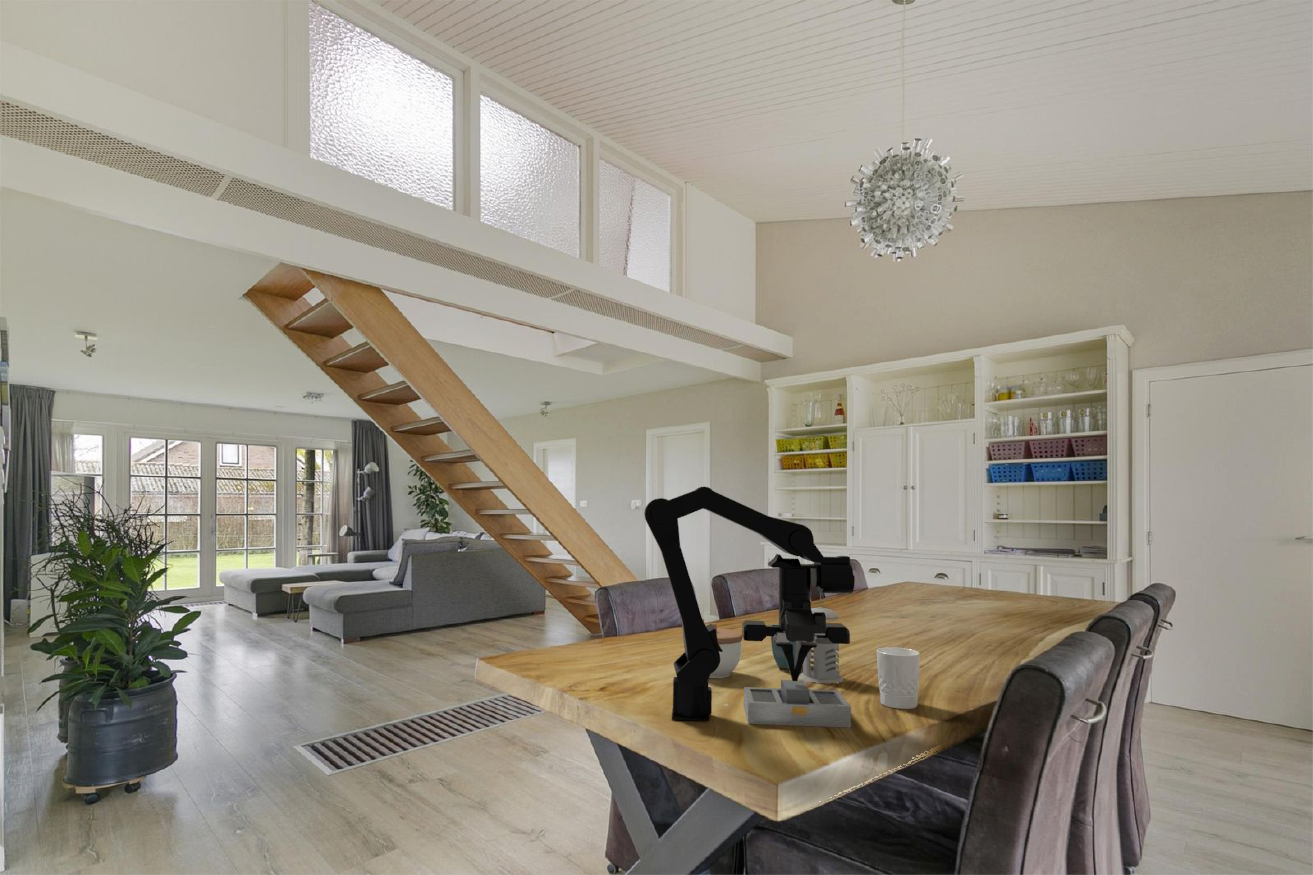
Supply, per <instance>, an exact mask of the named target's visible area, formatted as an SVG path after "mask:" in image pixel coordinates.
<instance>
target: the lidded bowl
mask: <svg viewBox="0 0 1313 875" xmlns="http://www.w3.org/2000/svg"><path fill="white" fill-rule="evenodd" d="M711 624H712V625H713V626H714V628H715V629H716V633H717V640H718V644H719V646H720V647H721V649H722V650H723V652H719V654H720V664H719V666H718V668H717V669H716V670H715V671H714V672H713V673H711V674H710V676H709V679H726V678H728V677H730V675H731V673H732V672H733V671H735V669H736V668H737V666H738V665H739V663H740V660H741V656H742V649H743V648H742V647H743V646H742V645H743V644H742V642H743V636H742V632H740V631H738V630H734V629H729V628H723V627H722V628H721V627H718V623H711Z"/></svg>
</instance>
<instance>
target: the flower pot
mask: <svg viewBox="0 0 1313 875" xmlns="http://www.w3.org/2000/svg"><path fill="white" fill-rule="evenodd" d="M769 626H779V624H770V625H769ZM783 632H784V631H783ZM773 638H774V637H773V636H770V641H771V642H770V643H771V650H772V656H773V658H774V661H775V663H776V665H777V667H778V668H779V669H789V668H788V665H787V662H786V659H785V656H784V653H783V651H782V649H781V647H778V646H776V645H775V643H774V642H773ZM791 643H792V644H793V658H794V663H795V650H796V641H795V642H791Z"/></svg>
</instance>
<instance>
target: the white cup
mask: <svg viewBox="0 0 1313 875" xmlns="http://www.w3.org/2000/svg"><path fill="white" fill-rule="evenodd" d="M920 659H921V658H920V652H919V651H918V650H914V649H910V648H906V647H905V648H904V647H896V646H894V647H893V646H891V647H890V646H887V647H879V648H876V660H877V661H876V662H877V665H876V666H877V677H878V679H877V680H878V689H879V700H880V701H879V702H880V704H881V705H882V706H885V707H888V708H892V709H899V710H912V709H916V708H918V695H919V694H918V692H919V682H920Z"/></svg>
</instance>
